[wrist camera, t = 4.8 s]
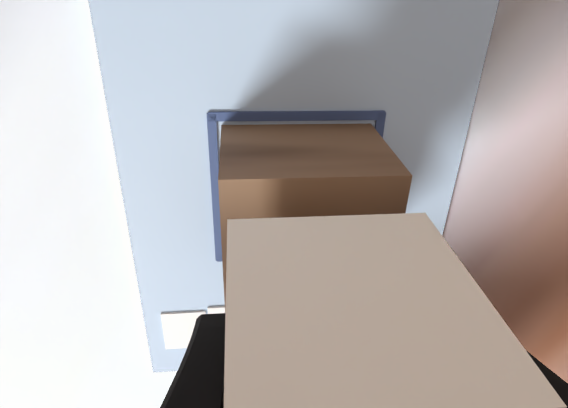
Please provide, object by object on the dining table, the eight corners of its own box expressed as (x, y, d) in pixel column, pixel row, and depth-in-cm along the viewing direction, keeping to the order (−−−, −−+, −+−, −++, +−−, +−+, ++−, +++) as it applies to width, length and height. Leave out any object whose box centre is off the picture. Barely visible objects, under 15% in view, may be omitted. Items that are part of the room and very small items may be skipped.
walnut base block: (355, 245, 17) (385, 318, 14) (227, 250, 17) (225, 327, 14) (370, 123, 15) (412, 175, 12) (221, 125, 14) (217, 179, 11)
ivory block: (396, 350, 12) (483, 565, 8) (234, 361, 12) (235, 593, 8) (425, 212, 10) (566, 407, 6) (227, 219, 10) (222, 434, 5)
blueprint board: (410, 349, 21) (413, 357, 21) (154, 365, 20) (153, 374, 20) (516, -105, 12) (527, -107, 12) (71, -125, 11) (64, -128, 11)
